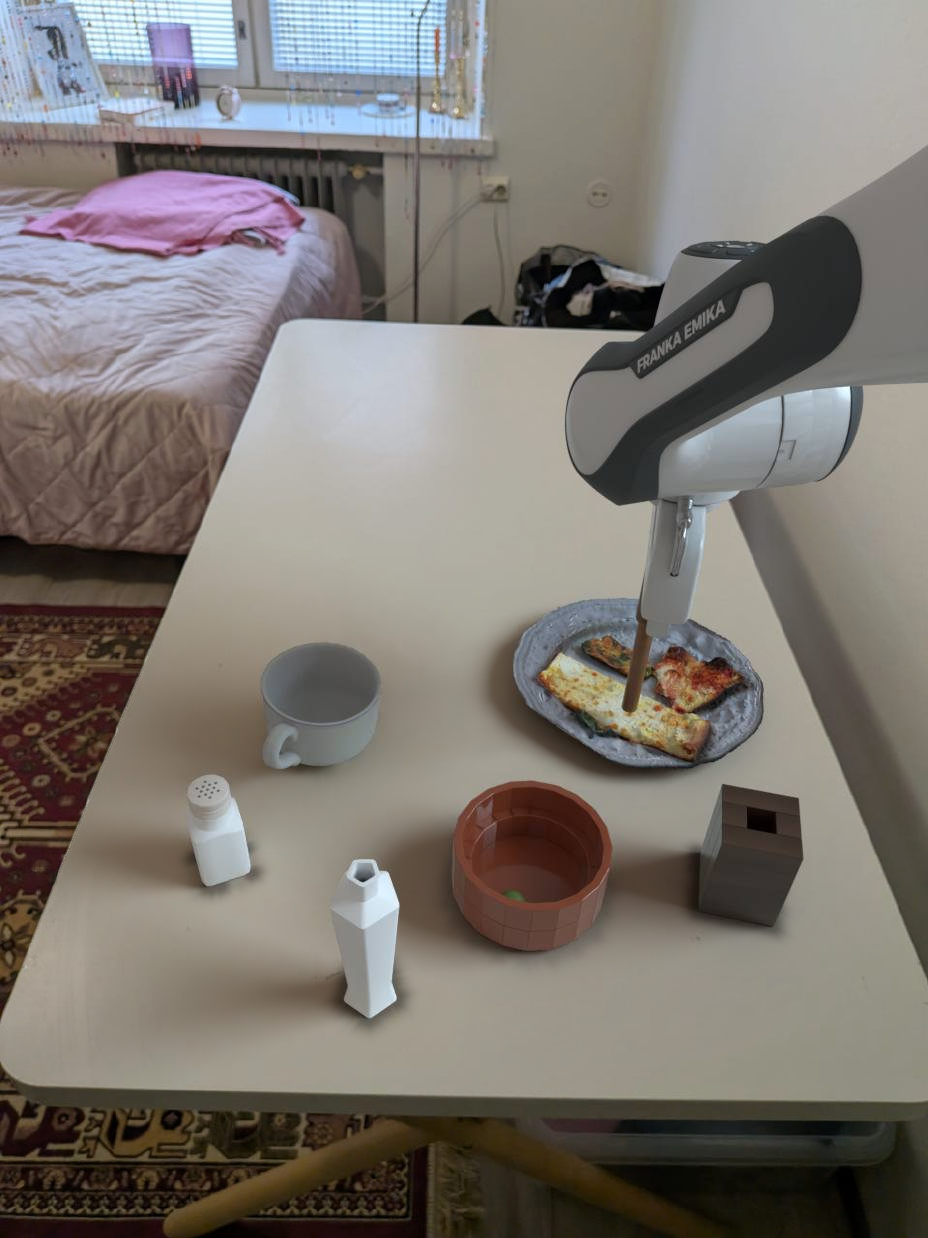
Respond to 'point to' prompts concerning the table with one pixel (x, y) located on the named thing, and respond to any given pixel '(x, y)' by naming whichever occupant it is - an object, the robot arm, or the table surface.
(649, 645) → the stirring stick
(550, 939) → the bowl
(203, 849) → the salt shaker
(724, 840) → the utensil block
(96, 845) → the table surface
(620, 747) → the food plate
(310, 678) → the teacup
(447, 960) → the table surface
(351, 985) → the white faceted bottle
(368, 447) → the table surface
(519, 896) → the bead
